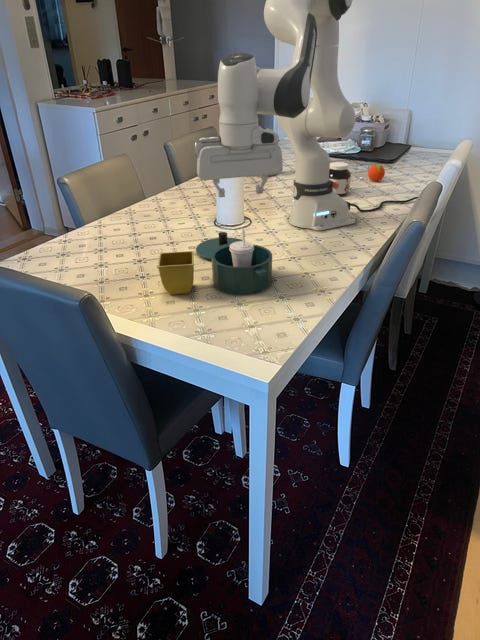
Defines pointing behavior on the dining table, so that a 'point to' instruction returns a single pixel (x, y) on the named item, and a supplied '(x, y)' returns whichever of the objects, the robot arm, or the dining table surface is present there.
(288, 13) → the robot arm
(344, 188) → the spread jar
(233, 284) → the pot
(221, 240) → the lid
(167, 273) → the flower pot
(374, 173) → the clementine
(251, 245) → the smoothie
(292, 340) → the dining table surface
